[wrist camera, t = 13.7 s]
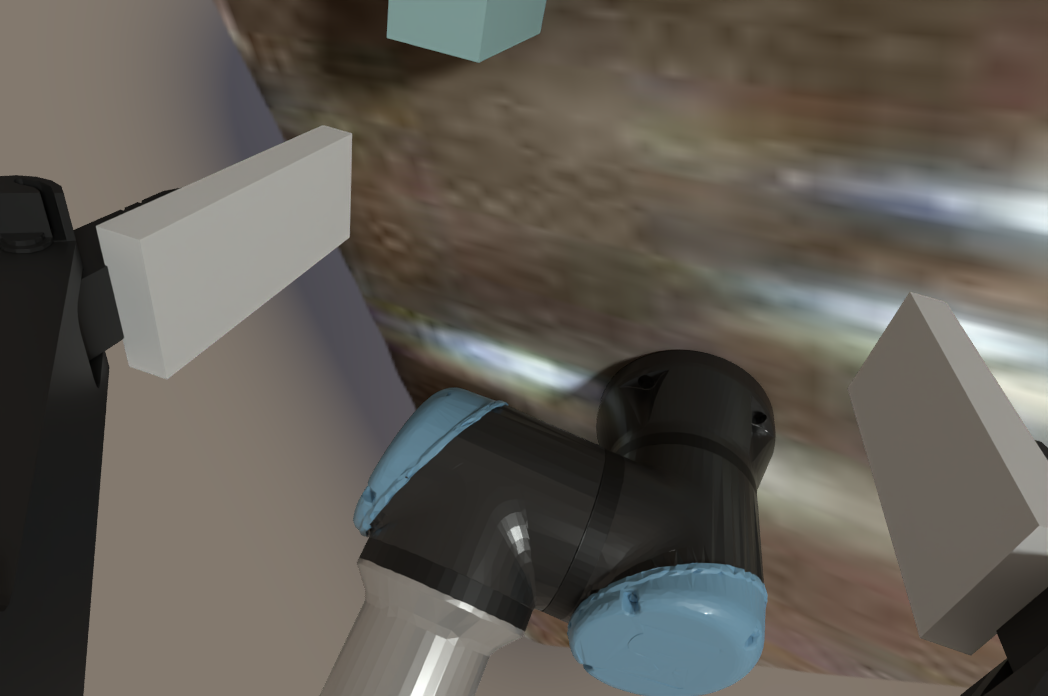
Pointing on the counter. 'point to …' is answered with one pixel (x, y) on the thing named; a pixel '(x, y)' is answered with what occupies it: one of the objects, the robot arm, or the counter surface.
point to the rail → (465, 25)
